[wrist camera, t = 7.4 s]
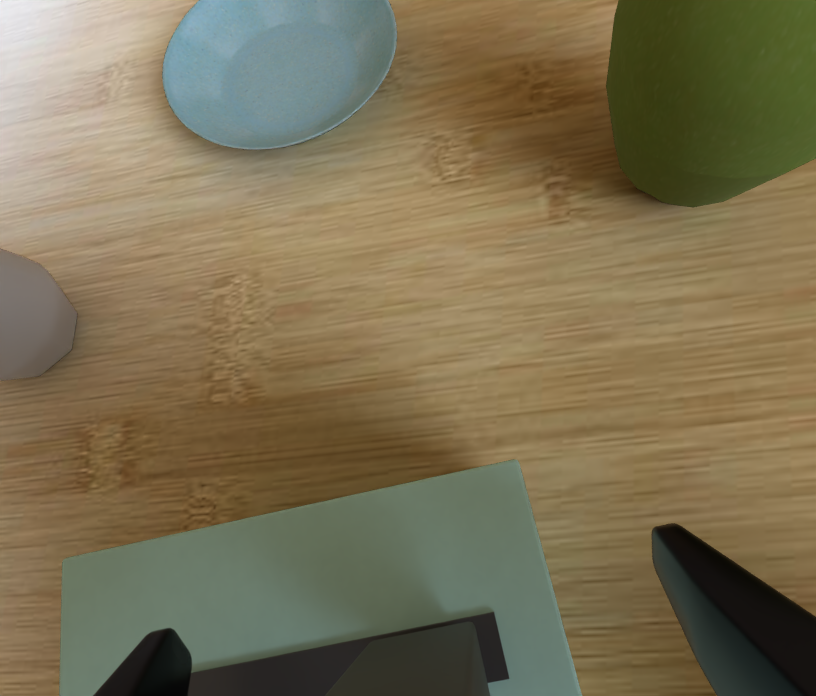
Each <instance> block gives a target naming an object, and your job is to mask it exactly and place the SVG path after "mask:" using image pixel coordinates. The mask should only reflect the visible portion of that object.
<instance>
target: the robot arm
mask: <svg viewBox="0 0 816 696" xmlns="http://www.w3.org/2000/svg"><path fill="white" fill-rule="evenodd" d="M652 559H653V564H654V568H655V570H656V573H657V575H658V577H659V579H660V582H661V584H662V586H663V588H664V590H665V593H666V595H667V597H668V599H669V601H670V603H671V606H672V608H673V610H674V612H675V614H676V617H677V619H678V621H679V623H680V625H681V627H682V630H683V632H684V634H685V636H686V638H687V641H688V643H689V645H690V647H691V649H692V651H693V653H694V655H695V657H696V660H697V661H698V663H699V665H700V667H701V669H702V671H703V672H704V674H705V676H706V678H707V679H708V681H709V683H710V685H711V686H712V688H713V690H714V691H715V693H716V695H717V696H816V617H815V616H814V615H812V614H811V613H809V612H808V611H806V610H805V609H803V608H802V607H800V606H799V605H797V604H796V603H794V602H793V601H791V600H790V599H789V598H787V597H786V596H784V595H783V594H781V593H780V592H778V591H777V590H775V589H774V588H772V587H771V586H769V585H768V584H766V583H765V582H763V581H762V580H760V579H759V578H757V577H756V576H754V575H753V574H751V573H750V572H748V571H747V570H745V569H744V568H742V567H741V566H739V565H738V564H737V563H735V562H734V561H732V560H731V559H729V558H728V557H726V556H725V555H723V554H722V553H720V552H719V551H717V550H716V549H714V548H713V547H711V546H710V545H708V544H707V543H705V542H704V541H702V540H701V539H699V538H698V537H696V536H695V535H693V534H692V533H690V532H689V531H688V530H686V529H685V528H683V527H682V526H680V525H678V524H675V523H671V524H666V525H661V526H657V527H654V528H653V530H652ZM191 671H192V657H191V654H190V652H189V650H188V649H187V647H186V646H185V644H184V643H183V641H182V640H181V638H180V637H179V635H178V634H177V632H176V631H175V630H174V629H172V628H165V629H160V630H155V631H152V632H150V633H148V634H147V635H146V636H145V637H144V638H143V639H142V640H141V642H140V643H139V644H138V645H137V646H136V647H135V648H134V650H133V651H132V652H131V653H130V654H129V655H128V656H127V657H126V659H125V660H124V661H123V662H122V663H121V664H120V665H119V667H118V668H117V669H116V670H115V671H114V672H113V673H112V675H111V676H110V677H109V678H108V679H107V680H106V681H105V683H104V684H103V685H102V686H101V687H100V688H99V689H98V690H97V692H96V693H95V694H94V695H93V696H188V691H189V684H190V677H191Z"/></svg>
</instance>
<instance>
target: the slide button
mask: <svg viewBox="0 0 816 696" xmlns="http://www.w3.org/2000/svg"><path fill="white" fill-rule="evenodd" d="M325 696H490V692H489V687H488V683H487V678H486V674H485V669H484V665H483V660H482V655H481V651H480V646H479V642H478V637H477V632H476V628H475V625H474V624H473V622H469V621H468V622H464V623H459V624H454V625H449V626H444V627H439V628H434V629H429V630H424V631H419V632H414V633H409V634H404V635H399V636H394V637H389V638H384V639H379V640H374V641H372V642H370V643H369V644H368V645H367V647H366V648H365V649H364V650H363V651H362V652H361V654H360V655H359V656H358V657H357V658H356V660H355V661H354V662H353V663H352V664H351V665H350V667H349V668H348V669H347V670H346V671H345V672H344V674H343V675H342V676H341V677H340V678H339V680H338V681H337V682H336V683H335V684H334V685H333V687H332V688H331V689H330V690H329V691H328V692H327V694H326V695H325Z"/></svg>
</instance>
